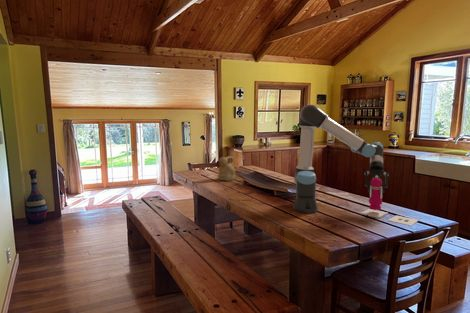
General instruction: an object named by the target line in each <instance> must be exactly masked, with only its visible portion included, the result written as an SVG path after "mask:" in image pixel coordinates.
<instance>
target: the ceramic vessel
mask: <svg viewBox="0 0 470 313" xmlns="http://www.w3.org/2000/svg"><path fill="white" fill-rule="evenodd" d="M233 155H234V152H233V151H229V156H226V157H225V156H221V157H219V160H218V161H219V167H218V172H219V173H218V175H217V179H218V180H220V181H226V182H229V181H234V180H235V178H236V177H235V176H236V169H235V167H234V163H235V162H234V161H235V160H234V156H233ZM229 160H230V162H229Z"/></svg>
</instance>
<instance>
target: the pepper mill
mask: <svg viewBox="0 0 470 313" xmlns="http://www.w3.org/2000/svg"><path fill="white" fill-rule="evenodd" d="M381 185H382V181H381V179H379V178H378V176H377V175H376V176H375V178H373V179H372V180H371V186H372V189H371V197H370V196H369V199H368V203H369V206H368V209H372V210H378V211H382V206H381V205H382V204H383V198H380V195H381Z"/></svg>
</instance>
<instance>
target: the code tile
mask: <svg viewBox="0 0 470 313" xmlns="http://www.w3.org/2000/svg"><path fill="white" fill-rule="evenodd" d="M387 221H389V222H393V223H396V224H401V225H406V226H410V227H411V226H413V225H415V224H416V223H418V222H419V221H420V220H419V219H416V218H410V217H405V216H401V215H394V216H392V217H391V218H389V219H387Z"/></svg>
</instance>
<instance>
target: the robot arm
mask: <svg viewBox="0 0 470 313" xmlns="http://www.w3.org/2000/svg"><path fill="white" fill-rule="evenodd" d="M298 127H299V128H301V130H300V141H299V142H300V143H299V153H298V164H297V165H296V167H295V174H294V176H293V179H294V183H295V185H296V188H295V189H296V192H295V193H296V196H295V199H294V201H293V202H294V203H293V206H292V209H293V210H294V211H295V212H297V213H303V214H312V213H316V212H318V211H319V205H318V203H317V199H316V191H317V190H316V189H317V188H316V186H317V175H316V173H315V171H314V170H315V168H314V167H313V155H314V144H315V133H316V129H322V130H323V131H325V132H327V133H328V134H329V135H331V136H333V137H334V138H335V139H337V140H339V141H340V142H342V143H344V144H345V145H347V146H348V147H350V151H351V152H352V153H355V154H359V155H362V156H364V157H365V158H369V170H365V171H364V174H363V175H364V176H365V178H364V187H367V192H368V193H369V198H370V197H371V194H372V184H371V180H372V179H373V178H375V176H376V175H377V176H378V178H379V179H381V181H382V185H381V186H380V187H381V189H380V198H381V199H383V194H384V193H385V189H387V188H388V186H389V183H388V182H389V179H388V178H389V172H388V171H387V172H386V171H385V170H384V150H385V149H384V146H383V143H381V142H379V141H377V142H376V141H374V142H372V143H371V144H370V143H368V142H367V141H365V140H364V139H363V138H361V137H359V136H357V135H356V134H355V133H353V132H351V131H350V130H348V129H347V128H345V127H344V126H343V125H341V124H339V123H338V122H336V121H335V120H334V119H332V118H330V117H329V115H328V114H327V113H326V112H324V111H323V110H322V109H320V108H319V107H318V106H317V105H315V104H306V105H304V106H302V107H301V109H300V110H299V124H298ZM369 175H370V178H369V181H368V176H369ZM383 175H384V178H385V179H383V178H382V176H383Z"/></svg>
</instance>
